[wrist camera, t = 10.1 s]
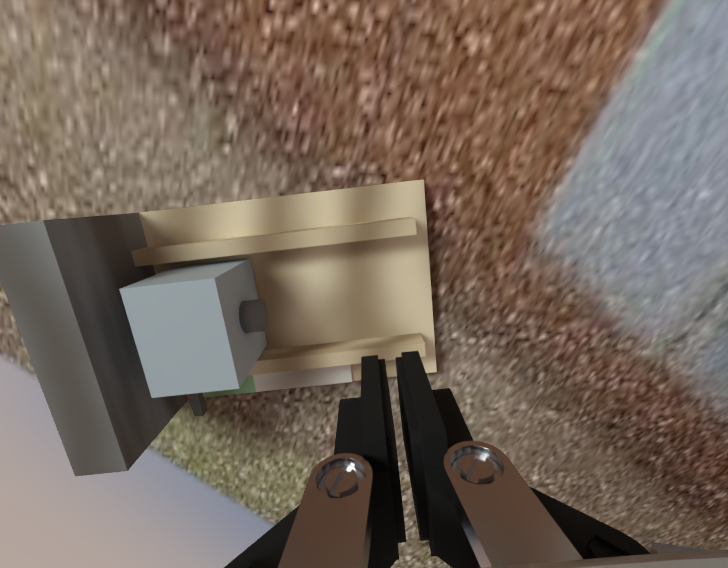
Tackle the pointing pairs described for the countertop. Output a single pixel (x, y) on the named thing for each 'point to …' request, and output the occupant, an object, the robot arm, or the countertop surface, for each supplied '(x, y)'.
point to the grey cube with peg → (197, 328)
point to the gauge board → (204, 245)
